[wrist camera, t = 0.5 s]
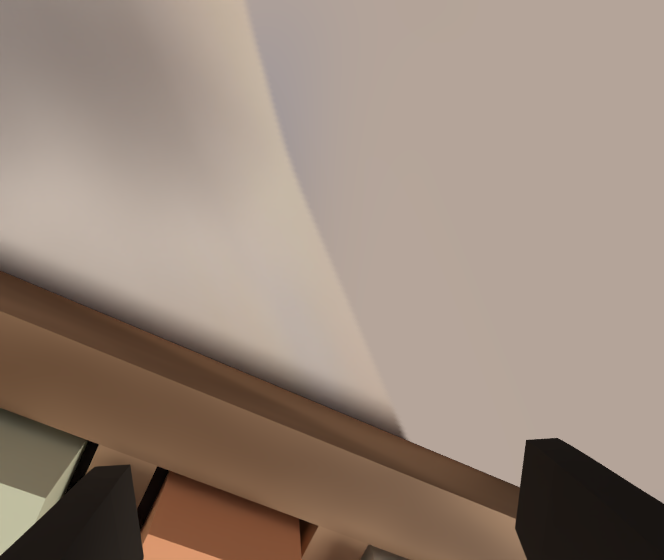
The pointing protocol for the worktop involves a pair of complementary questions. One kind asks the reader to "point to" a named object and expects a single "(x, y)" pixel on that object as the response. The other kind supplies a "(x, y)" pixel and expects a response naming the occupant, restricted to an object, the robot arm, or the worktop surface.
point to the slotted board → (243, 437)
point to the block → (32, 472)
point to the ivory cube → (379, 554)
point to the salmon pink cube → (215, 526)
